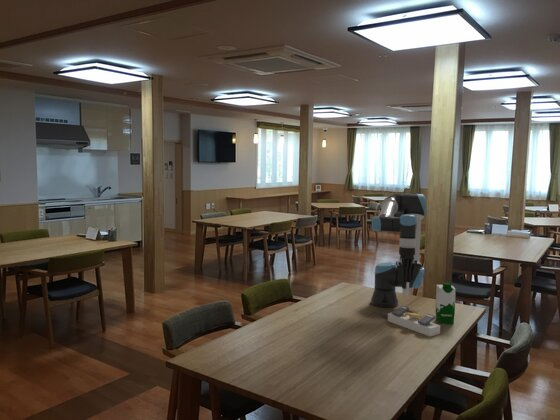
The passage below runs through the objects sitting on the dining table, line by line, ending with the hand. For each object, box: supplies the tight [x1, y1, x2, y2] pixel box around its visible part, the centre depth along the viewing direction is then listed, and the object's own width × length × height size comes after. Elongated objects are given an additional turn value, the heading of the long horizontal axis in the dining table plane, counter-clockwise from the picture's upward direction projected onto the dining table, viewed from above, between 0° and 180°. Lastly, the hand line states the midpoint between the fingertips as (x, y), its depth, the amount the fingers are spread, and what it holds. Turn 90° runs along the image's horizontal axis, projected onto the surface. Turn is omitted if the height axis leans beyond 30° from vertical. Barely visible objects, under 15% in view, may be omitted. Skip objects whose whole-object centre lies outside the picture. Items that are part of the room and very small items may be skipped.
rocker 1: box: [391, 305, 410, 316], centre depth 234 cm, size 8×4×1 cm, turn 124°
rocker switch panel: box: [379, 311, 441, 338], centre depth 231 cm, size 7×34×5 cm, turn 34°
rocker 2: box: [404, 311, 423, 319], centre depth 227 cm, size 8×4×1 cm, turn 124°
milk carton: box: [435, 282, 456, 325], centre depth 236 cm, size 9×9×20 cm
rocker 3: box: [418, 313, 437, 325], centre depth 220 cm, size 8×4×1 cm, turn 124°
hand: (405, 294), depth 227 cm, fingers closed
